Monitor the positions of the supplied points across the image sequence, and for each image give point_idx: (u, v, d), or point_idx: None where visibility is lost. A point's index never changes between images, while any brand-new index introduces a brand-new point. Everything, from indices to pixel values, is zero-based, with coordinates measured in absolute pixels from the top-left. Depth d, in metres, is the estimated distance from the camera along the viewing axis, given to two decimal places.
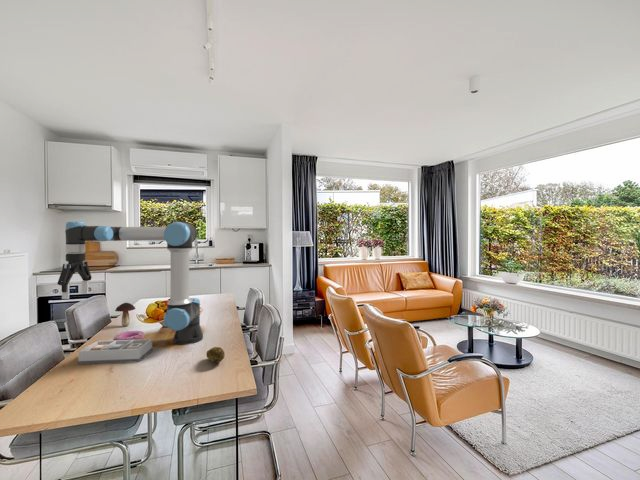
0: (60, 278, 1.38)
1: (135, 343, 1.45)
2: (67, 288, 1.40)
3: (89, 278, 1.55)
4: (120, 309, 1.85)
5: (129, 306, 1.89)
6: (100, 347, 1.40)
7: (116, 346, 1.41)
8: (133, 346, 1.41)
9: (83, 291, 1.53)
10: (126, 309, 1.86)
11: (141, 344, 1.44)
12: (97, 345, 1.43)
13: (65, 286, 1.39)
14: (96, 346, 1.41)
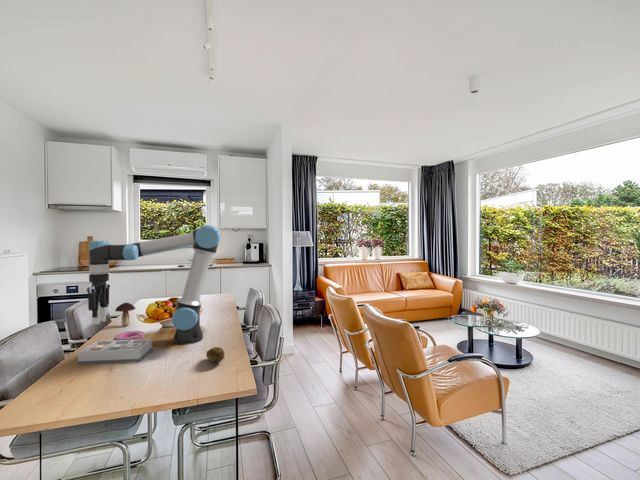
0: (89, 304, 1.35)
1: (135, 343, 1.45)
2: (97, 313, 1.38)
3: (107, 305, 1.45)
4: (120, 309, 1.85)
5: (129, 306, 1.89)
6: (100, 347, 1.40)
7: (116, 346, 1.41)
8: (133, 346, 1.41)
9: (100, 319, 1.43)
10: (126, 309, 1.86)
11: (141, 344, 1.44)
12: (97, 345, 1.43)
13: (96, 312, 1.38)
14: (96, 346, 1.41)
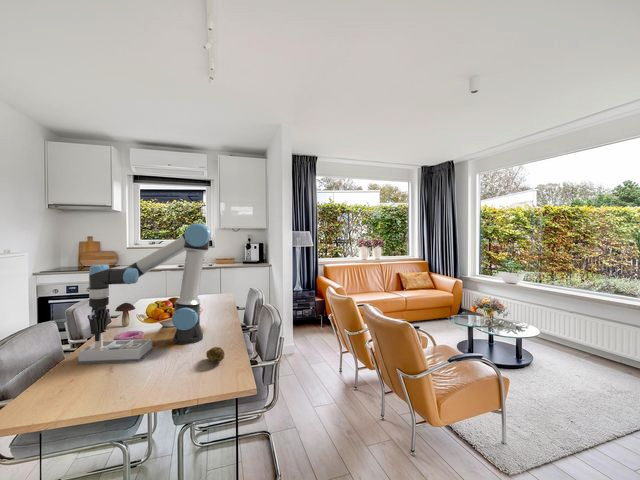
0: (91, 329, 1.37)
1: (135, 343, 1.45)
2: (100, 337, 1.41)
3: None
4: (120, 309, 1.85)
5: (129, 306, 1.89)
6: (100, 348, 1.40)
7: (116, 346, 1.41)
8: (133, 346, 1.41)
9: None
10: (126, 309, 1.86)
11: (141, 344, 1.44)
12: None
13: (98, 335, 1.40)
14: None
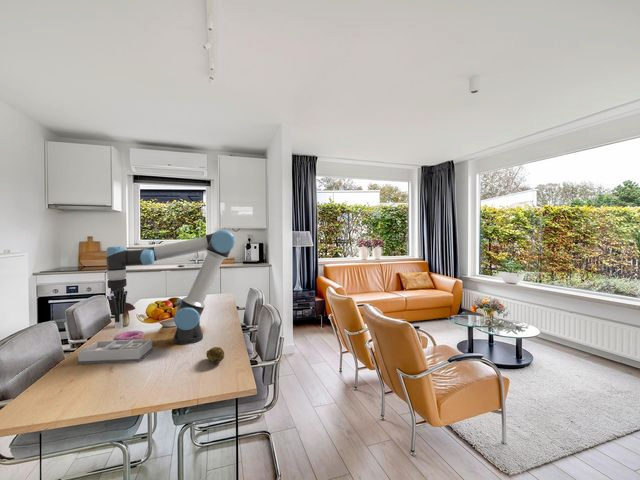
0: (111, 310, 1.38)
1: (135, 343, 1.45)
2: (120, 318, 1.42)
3: (123, 312, 1.44)
4: None
5: (129, 306, 1.89)
6: None
7: (116, 346, 1.41)
8: (133, 346, 1.41)
9: None
10: (126, 309, 1.86)
11: (141, 344, 1.44)
12: (97, 348, 1.43)
13: (118, 316, 1.41)
14: (96, 349, 1.41)
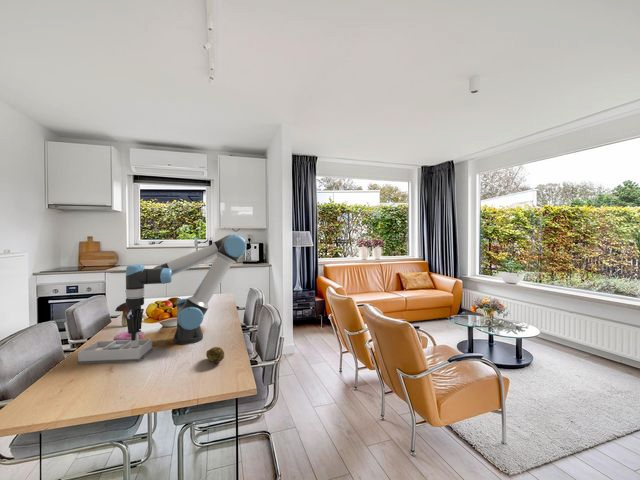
0: (129, 328, 1.39)
1: None
2: (136, 336, 1.42)
3: (139, 330, 1.45)
4: (120, 309, 1.85)
5: None
6: None
7: (116, 346, 1.41)
8: (133, 348, 1.41)
9: None
10: (126, 309, 1.86)
11: None
12: (97, 348, 1.43)
13: (134, 335, 1.42)
14: (96, 349, 1.41)
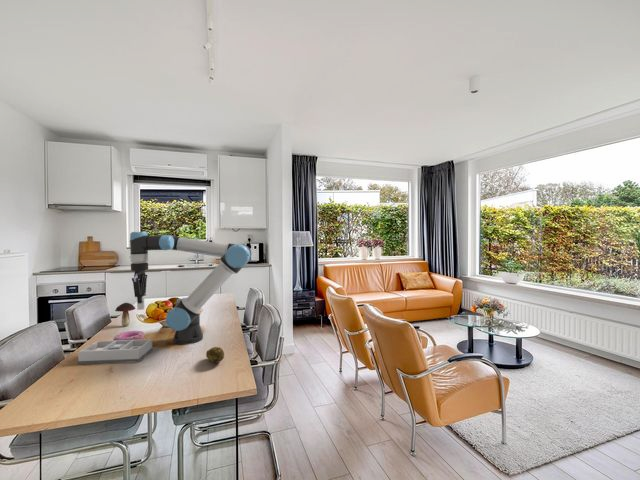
0: (135, 291, 1.45)
1: (135, 346, 1.45)
2: (142, 299, 1.49)
3: (144, 294, 1.52)
4: (120, 309, 1.85)
5: (129, 306, 1.89)
6: None
7: (116, 346, 1.41)
8: None
9: None
10: (126, 309, 1.86)
11: None
12: (97, 348, 1.43)
13: (141, 298, 1.48)
14: (96, 349, 1.41)
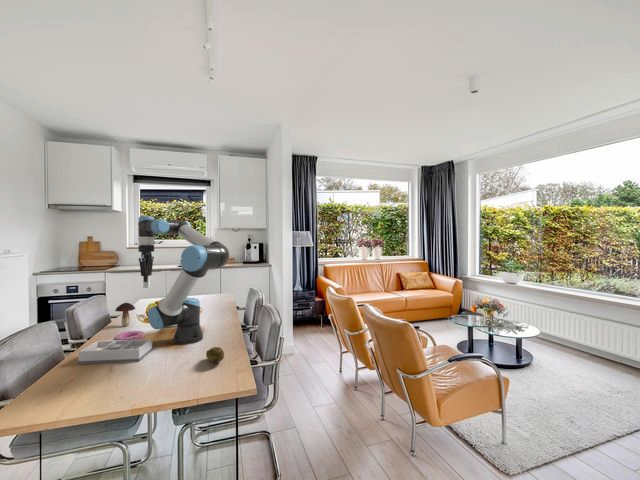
0: (141, 270, 1.59)
1: (135, 346, 1.45)
2: (148, 278, 1.63)
3: (150, 274, 1.65)
4: (120, 309, 1.85)
5: (129, 306, 1.89)
6: None
7: (116, 346, 1.41)
8: None
9: None
10: (126, 309, 1.86)
11: None
12: (97, 348, 1.43)
13: (146, 277, 1.62)
14: (96, 349, 1.41)
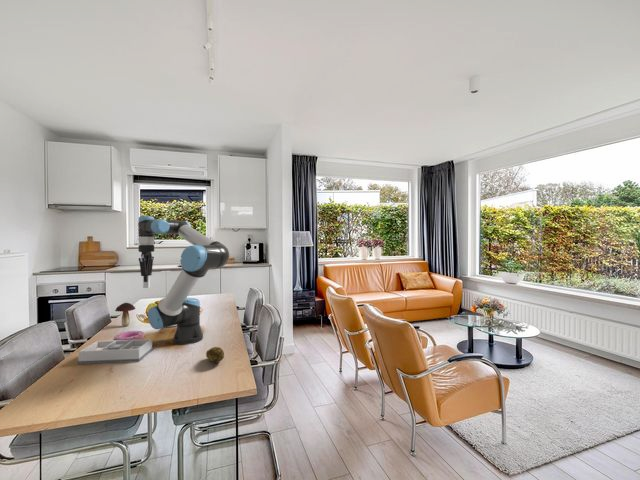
0: (141, 270, 1.59)
1: (135, 346, 1.45)
2: (148, 278, 1.63)
3: (150, 274, 1.65)
4: (120, 309, 1.85)
5: (129, 306, 1.89)
6: None
7: (116, 346, 1.41)
8: None
9: None
10: (126, 309, 1.86)
11: None
12: (97, 348, 1.43)
13: (146, 277, 1.62)
14: (96, 349, 1.41)
